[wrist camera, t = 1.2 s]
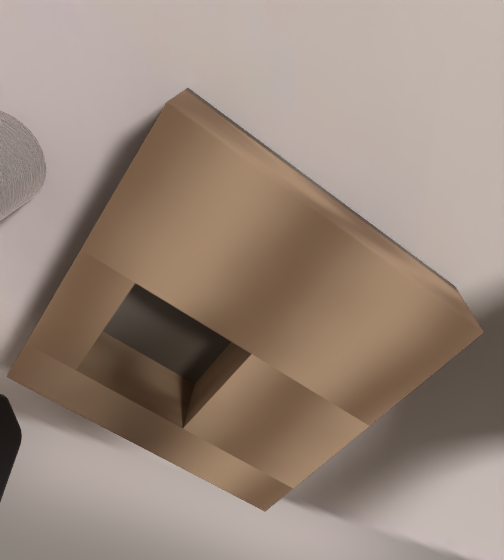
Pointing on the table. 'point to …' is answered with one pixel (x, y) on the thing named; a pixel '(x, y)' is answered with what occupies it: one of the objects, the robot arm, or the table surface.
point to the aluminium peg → (18, 165)
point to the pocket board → (237, 313)
